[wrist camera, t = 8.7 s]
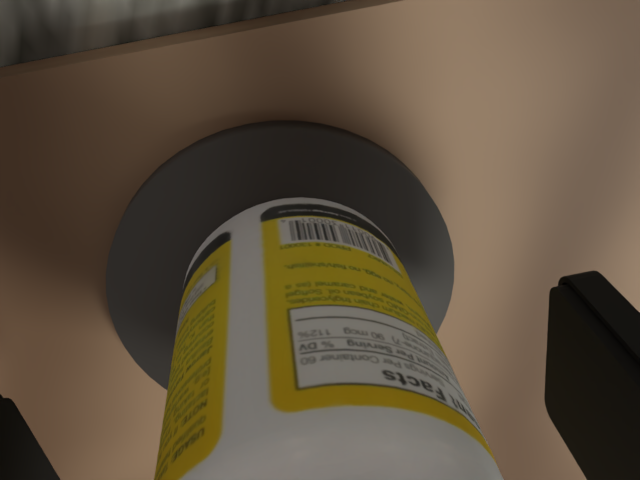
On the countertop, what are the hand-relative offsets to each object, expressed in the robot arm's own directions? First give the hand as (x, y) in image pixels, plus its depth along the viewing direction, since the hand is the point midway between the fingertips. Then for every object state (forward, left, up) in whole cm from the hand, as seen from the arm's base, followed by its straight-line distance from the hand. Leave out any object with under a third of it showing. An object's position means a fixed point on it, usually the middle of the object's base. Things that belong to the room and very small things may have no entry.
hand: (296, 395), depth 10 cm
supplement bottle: (0, 0, -3) cm, 3 cm away
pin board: (0, +6, -5) cm, 7 cm away
